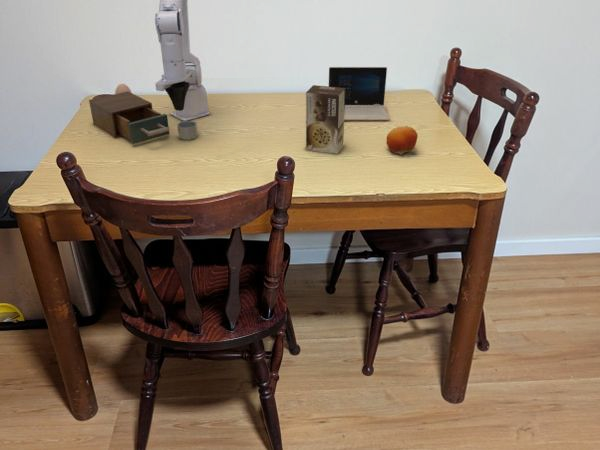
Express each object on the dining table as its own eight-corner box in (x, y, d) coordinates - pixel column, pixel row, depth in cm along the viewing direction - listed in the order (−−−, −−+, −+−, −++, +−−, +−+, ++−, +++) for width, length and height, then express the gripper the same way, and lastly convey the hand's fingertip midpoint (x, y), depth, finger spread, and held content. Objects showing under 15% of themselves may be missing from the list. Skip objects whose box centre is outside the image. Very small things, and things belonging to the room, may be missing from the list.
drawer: (178, 139, 154) (176, 119, 151) (142, 150, 148) (139, 129, 145) (146, 121, 166) (143, 102, 163) (110, 130, 159) (107, 111, 156)
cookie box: (343, 145, 153) (346, 87, 145) (337, 154, 148) (340, 95, 139) (312, 141, 155) (313, 84, 147) (304, 150, 150) (305, 91, 142)
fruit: (402, 156, 143) (395, 126, 143) (385, 161, 150) (379, 132, 150) (427, 150, 146) (420, 120, 146) (410, 155, 154) (403, 127, 153)
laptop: (330, 121, 169) (331, 78, 162) (327, 107, 179) (328, 66, 173) (389, 121, 169) (393, 78, 162) (383, 107, 180) (387, 66, 173)
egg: (113, 105, 180) (109, 84, 177) (125, 101, 184) (122, 80, 180) (124, 108, 178) (121, 87, 174) (136, 103, 182) (133, 83, 178)
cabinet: (155, 127, 164) (151, 102, 160) (115, 138, 157) (111, 112, 153) (131, 114, 173) (128, 91, 169) (93, 124, 166) (88, 99, 162)
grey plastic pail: (191, 132, 161) (189, 119, 159) (201, 137, 158) (200, 124, 156) (175, 136, 158) (173, 123, 156) (185, 142, 155) (184, 129, 153)
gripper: (177, 51, 153) (182, 99, 160) (143, 64, 142) (150, 115, 149) (199, 54, 150) (203, 103, 157) (165, 67, 139) (172, 119, 146)
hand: (179, 109), depth 153 cm, fingers closed
